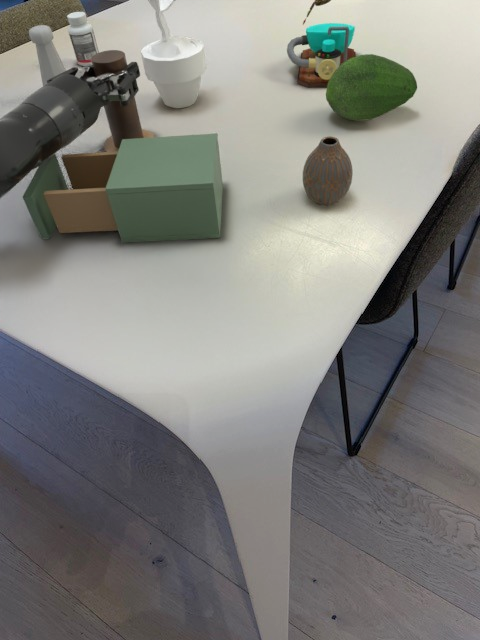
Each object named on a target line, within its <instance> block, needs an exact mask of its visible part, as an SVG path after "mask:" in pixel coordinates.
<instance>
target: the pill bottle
mask: <svg viewBox="0 0 480 640" xmlns="http://www.w3.org/2000/svg"><path fill="white" fill-rule="evenodd" d="M66 19H67V22H68V24H69V25H70V26H69V27H68V31H67V32H68V36H69V39H70V42H71V45H72V49H73V51H74V55H75V58H76V61H77V64H78V65H79V66H82V67H86V66H87V67H90V66H91V65H92V61H91V58H92V56H93V55H95V54H97V53H100V50H99V46H98V44H97V43H98V42H97V40H96V36H95V32H94V28H93V26H92V25H91V23H89V22H88V17H87V15H86V13H85V11H74V12H70V13H69V14H67V16H66Z"/></svg>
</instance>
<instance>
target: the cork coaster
mask: <svg viewBox="0 0 480 640" xmlns="http://www.w3.org/2000/svg"><path fill="white" fill-rule="evenodd" d="M142 132H143V137H144V138H152V137H156V136H155V134H153V132H151V131H149V130H145V129H142ZM103 149H104V152H115V151H118V150H119V149H118V148H116V147H115V145H114V142H113V138H112V135H111V136H109V137H108V138H107V139H106V140H105V141H104V143H103Z"/></svg>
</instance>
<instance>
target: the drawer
mask: <svg viewBox="0 0 480 640" xmlns="http://www.w3.org/2000/svg"><path fill="white" fill-rule="evenodd" d="M117 153H118V151H115V152H105V151H99V152H84V153H68V154H62V155H61V161H62V164H63V166H64V169H65V171H66V175H67V177H68V178H69V182H70V185H71V188H72V189H69V186H68V184H67V181H66V179H65V178H66V177H65V176H64V173H63V171H62V167H61V165H60V163H59V160H58V157H57V155H56V153H55V154H54V155H53V156H51V157H50V158H49V159H48V160H47V161H45V162H44V163H43V164H41V165H40V166H38V167H37V168H36V171H35V173H34V174H33V176H32V178H31V180H30V182H29V184H28V186H27V187H26V189H25V191H24V193H23V195H22V200H23V202H24V204H25V206H26V208H27V210H28V212H29V215H30V217H31V219H32V221H33V223H34V226H35V228H36V230H37V232H38V234H39V236H40V238H41V240H48V239H51V237H52V235H53V232H54V230H55V227H57V231H58V232H59V234H67V233H69V234H70V233H88V232H109V231H118V228H117V225H116V222H115V219H114V215H113V212H112V209H111V206H110V203H109V199H108V196H107V193H106V190H105V189H106V186H107V183H108V180H109V177H110V174H111V171H112V168H113V165H114V162H115V159H116V156H117Z"/></svg>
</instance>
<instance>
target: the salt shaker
mask: <svg viewBox="0 0 480 640" xmlns="http://www.w3.org/2000/svg"><path fill="white" fill-rule="evenodd" d="M53 34H54V33H53V30H52V28H51V27H50V26H49V25H46V24H40V25H35V26H33V27H31V28H30V29H29V30H28V35H29V39H30V41H31V43H32V44H35V49H36V55H37V61H38V66H39V70H40V77H41V78H40V79H41V83H42V87H43V86H44V85H46V84H47V80H49V79H51V78H53V77H55V76H57V75H59V74H61V73H63V72H65V71H67V69H66V67H65V65H64V63H63V60H62V59H61V57H60V54H59V52H58V50H57V48H56V47H55V44H54V42H53V40H54V35H53Z"/></svg>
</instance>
